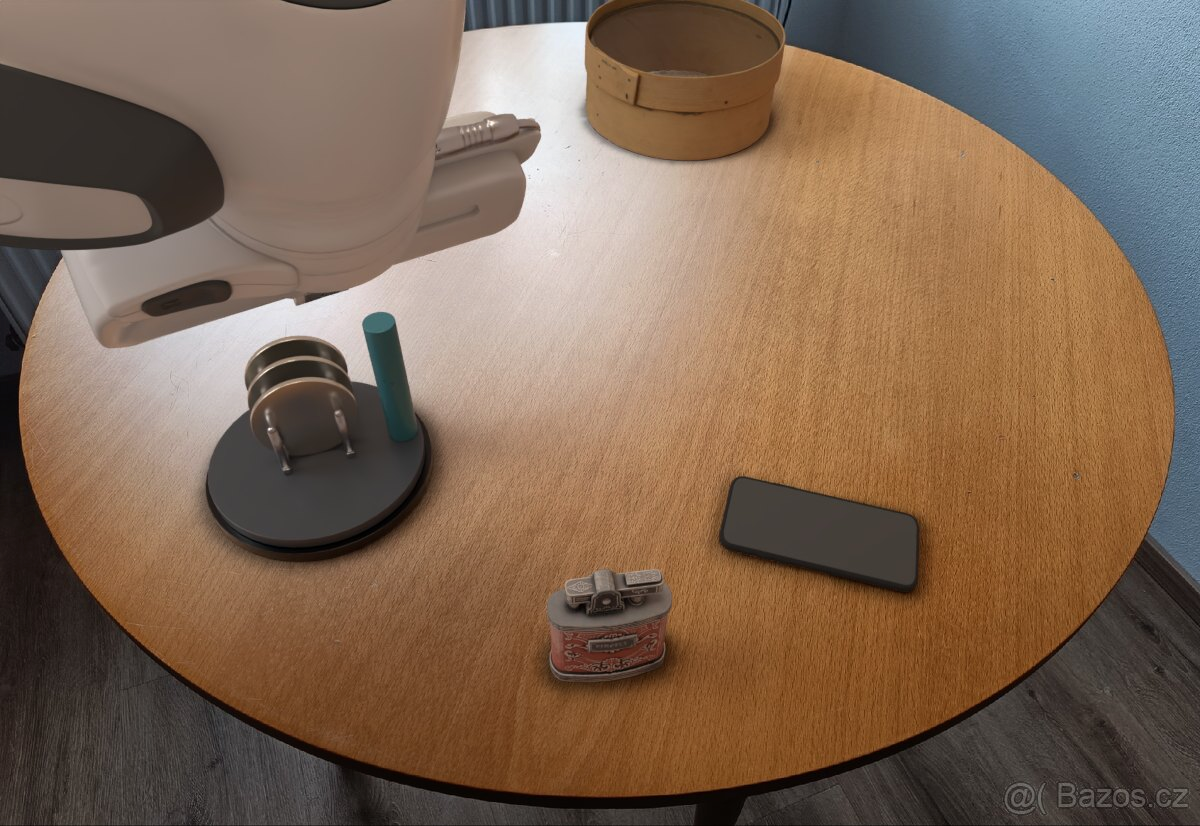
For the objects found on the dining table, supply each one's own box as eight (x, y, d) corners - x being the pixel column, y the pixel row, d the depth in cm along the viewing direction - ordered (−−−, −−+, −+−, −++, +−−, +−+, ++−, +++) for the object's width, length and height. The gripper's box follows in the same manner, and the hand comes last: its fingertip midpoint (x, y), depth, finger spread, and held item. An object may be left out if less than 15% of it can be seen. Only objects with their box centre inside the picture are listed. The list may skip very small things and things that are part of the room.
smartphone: (919, 592, 63) (717, 543, 65) (915, 598, 63) (715, 550, 66) (920, 514, 68) (732, 471, 70) (917, 521, 68) (731, 478, 71)
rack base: (334, 599, 63) (331, 592, 62) (160, 502, 69) (155, 494, 68) (475, 440, 74) (474, 432, 73) (315, 367, 80) (312, 359, 79)
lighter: (552, 688, 58) (548, 612, 51) (547, 643, 61) (542, 564, 53) (669, 672, 59) (681, 595, 52) (659, 628, 61) (669, 548, 54)
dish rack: (447, 510, 67) (425, 394, 58) (219, 575, 63) (155, 461, 53) (401, 369, 78) (376, 252, 69) (204, 416, 74) (149, 298, 64)
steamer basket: (636, 180, 102) (640, 89, 94) (554, 90, 118) (552, 6, 110) (809, 138, 110) (827, 50, 102) (710, 59, 125) (719, -23, 117)
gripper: (521, 43, 37) (471, 181, 50) (-6, 164, 30) (95, 288, 43) (579, 175, 37) (513, 280, 50) (59, 329, 30) (141, 404, 43)
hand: (316, 285), depth 46 cm, fingers closed
